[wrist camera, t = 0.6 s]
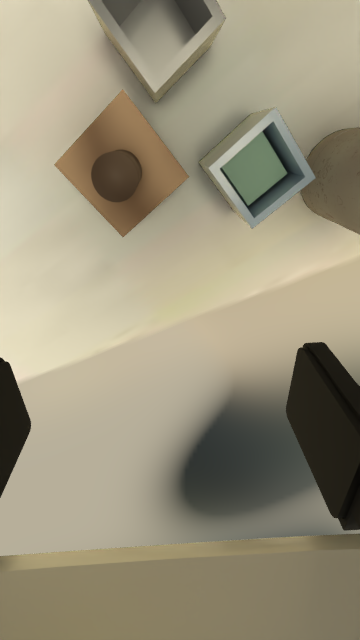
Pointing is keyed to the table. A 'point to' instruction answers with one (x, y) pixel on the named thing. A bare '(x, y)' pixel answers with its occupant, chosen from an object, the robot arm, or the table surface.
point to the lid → (122, 165)
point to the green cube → (253, 169)
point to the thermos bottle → (336, 179)
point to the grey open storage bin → (159, 36)
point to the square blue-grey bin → (285, 151)
